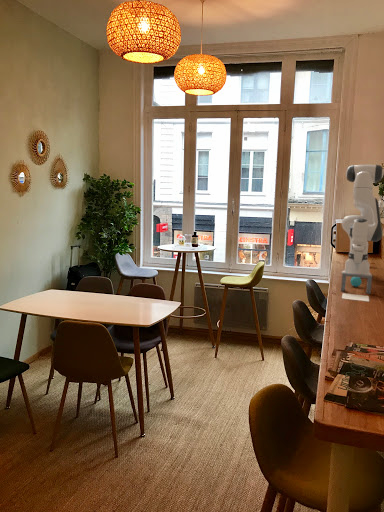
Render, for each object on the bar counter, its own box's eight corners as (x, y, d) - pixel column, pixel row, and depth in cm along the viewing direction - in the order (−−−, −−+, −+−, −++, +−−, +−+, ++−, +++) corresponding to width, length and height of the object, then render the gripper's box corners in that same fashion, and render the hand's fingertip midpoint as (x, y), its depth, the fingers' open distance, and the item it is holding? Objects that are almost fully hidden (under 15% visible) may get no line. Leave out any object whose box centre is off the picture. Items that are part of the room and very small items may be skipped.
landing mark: (342, 293, 244) (342, 293, 244) (368, 296, 240) (368, 295, 240) (341, 298, 232) (341, 298, 232) (369, 301, 228) (369, 301, 228)
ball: (350, 285, 268) (351, 274, 267) (361, 286, 266) (362, 276, 265) (349, 287, 262) (350, 276, 262) (361, 288, 260) (362, 277, 260)
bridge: (341, 290, 253) (342, 272, 252) (370, 293, 248) (372, 275, 247) (340, 291, 250) (342, 273, 249) (370, 294, 245) (372, 276, 244)
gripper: (353, 244, 281) (351, 267, 283) (353, 247, 262) (350, 271, 264) (364, 245, 279) (362, 267, 281) (364, 248, 260) (362, 272, 262)
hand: (356, 269), depth 272 cm, fingers closed
